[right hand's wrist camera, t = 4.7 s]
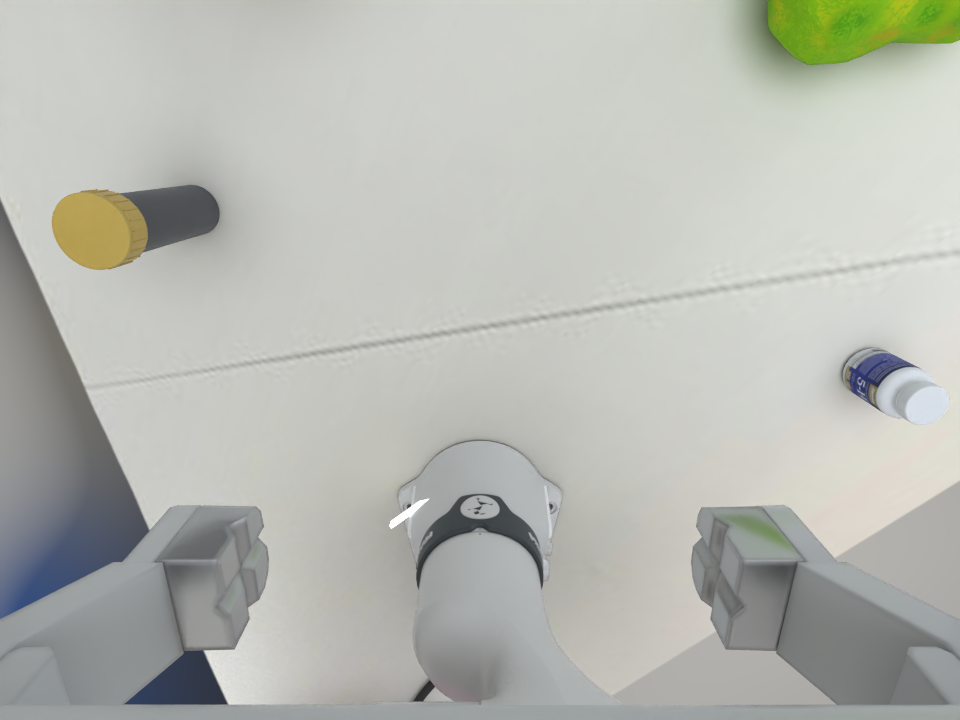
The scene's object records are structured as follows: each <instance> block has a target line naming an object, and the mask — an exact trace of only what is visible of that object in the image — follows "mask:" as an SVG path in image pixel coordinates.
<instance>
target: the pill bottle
mask: <svg viewBox="0 0 960 720" xmlns="http://www.w3.org/2000/svg"><path fill="white" fill-rule="evenodd" d="M843 382H844V384H845V386H846V387H847V388H848V389H849V390H850V391H851V392H853V393H854V394H856V395H857V396H859V397H860V398H862V399H863V400H865V401H866V402H868V403H869V404H871V405H872V406H874V407H875V408H877V409H878V410H880V411H881V412H883V413H885V414H886V415H888V416H891V417H894V418H904V419H906V420H908V421H910V422H911V423H913V424H917V425H927V424H931V423H933V422H935V421H937V420H938V419H939V418H941V417H942V416H943V415H944V414H945V412H946V411H947V409H948V406H949V396H948V394H947V392H946V391H945V390H944V389H943V388H941V387H939V386H937V385H936V384H934V381H933V379H932V377H931V376H930V375H929V374H928V373H927V372H925V371H924V370H922V369H920V368H918V367H916V366H914V365H912V364H910V363H908V362H906V361H904V360H902V359H900V358H898V357H897V356H895V355H893V354H891V353H889V352H887V351H884V350H882V349H878V348H869V349H865V350H862V351H860V352H858V353H856V354H855V355H854V356H852V357H851V358H850V359H849V361H848V362H847V363H846V365H845V367H844V370H843Z"/></svg>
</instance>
